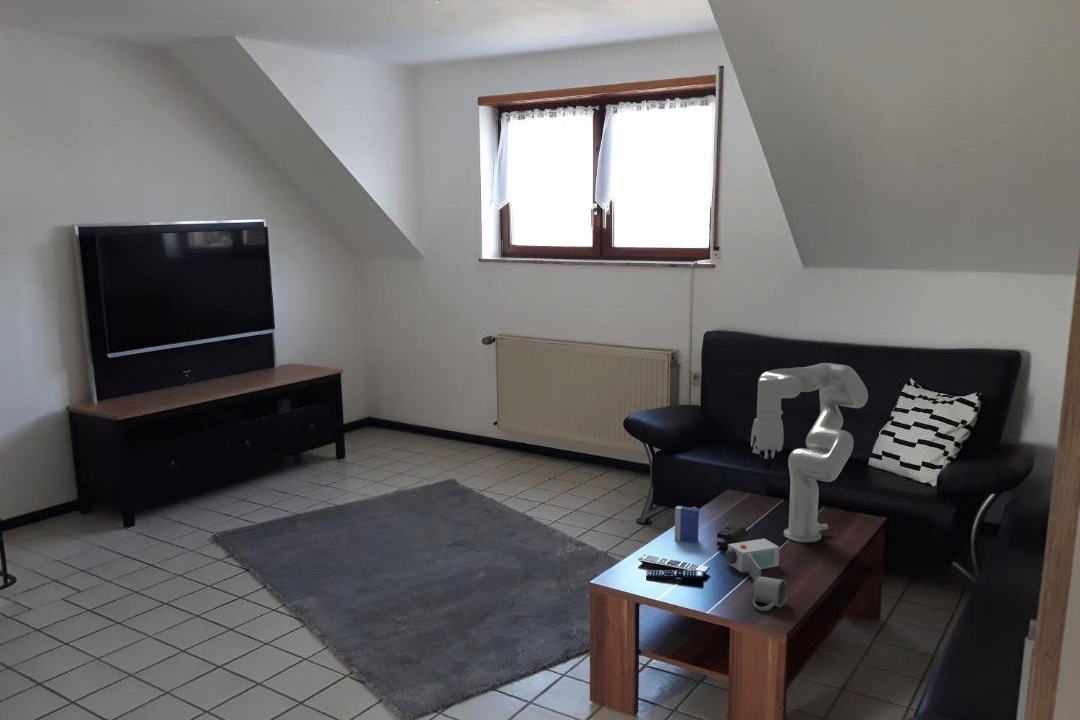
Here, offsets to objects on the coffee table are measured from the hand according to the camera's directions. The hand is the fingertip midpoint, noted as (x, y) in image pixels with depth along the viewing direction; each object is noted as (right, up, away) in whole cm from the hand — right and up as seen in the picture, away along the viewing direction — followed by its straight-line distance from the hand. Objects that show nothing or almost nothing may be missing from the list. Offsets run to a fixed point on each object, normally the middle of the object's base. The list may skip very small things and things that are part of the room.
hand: (766, 469), depth 282 cm
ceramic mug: (-9, -35, -34) cm, 50 cm away
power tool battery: (-9, -28, +10) cm, 31 cm away
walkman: (-24, -27, +17) cm, 40 cm away
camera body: (-6, -30, -5) cm, 31 cm away
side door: (-8, -32, -17) cm, 37 cm away
